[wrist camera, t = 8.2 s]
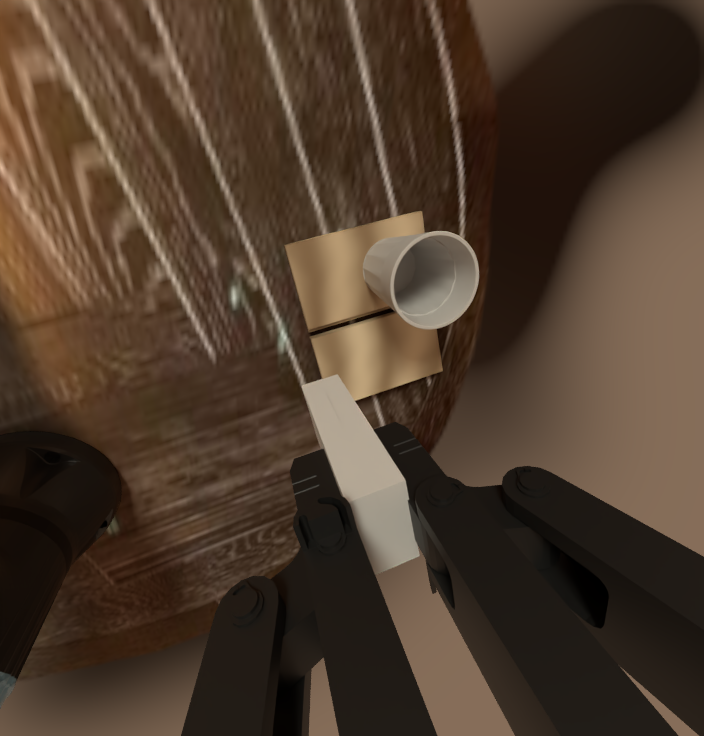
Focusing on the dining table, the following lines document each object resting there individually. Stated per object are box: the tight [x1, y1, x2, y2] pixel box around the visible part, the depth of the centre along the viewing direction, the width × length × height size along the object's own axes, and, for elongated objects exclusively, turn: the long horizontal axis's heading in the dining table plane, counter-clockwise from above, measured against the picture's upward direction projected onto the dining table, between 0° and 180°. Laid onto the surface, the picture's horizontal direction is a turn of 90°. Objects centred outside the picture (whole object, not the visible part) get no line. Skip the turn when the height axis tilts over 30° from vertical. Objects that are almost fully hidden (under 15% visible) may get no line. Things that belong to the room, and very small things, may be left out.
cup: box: [363, 231, 479, 330], centre depth 35 cm, size 8×8×12 cm
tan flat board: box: [284, 211, 424, 332], centre depth 39 cm, size 15×9×1 cm, turn 103°
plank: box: [310, 311, 443, 401], centre depth 43 cm, size 15×9×1 cm, turn 103°
